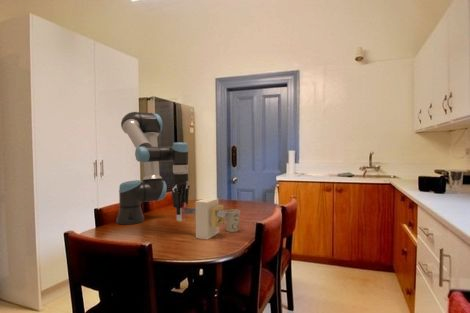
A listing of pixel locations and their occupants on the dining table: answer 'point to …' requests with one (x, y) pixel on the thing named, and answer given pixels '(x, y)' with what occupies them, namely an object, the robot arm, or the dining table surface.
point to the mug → (232, 220)
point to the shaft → (193, 211)
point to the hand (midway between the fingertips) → (181, 220)
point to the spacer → (214, 216)
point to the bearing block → (205, 218)
